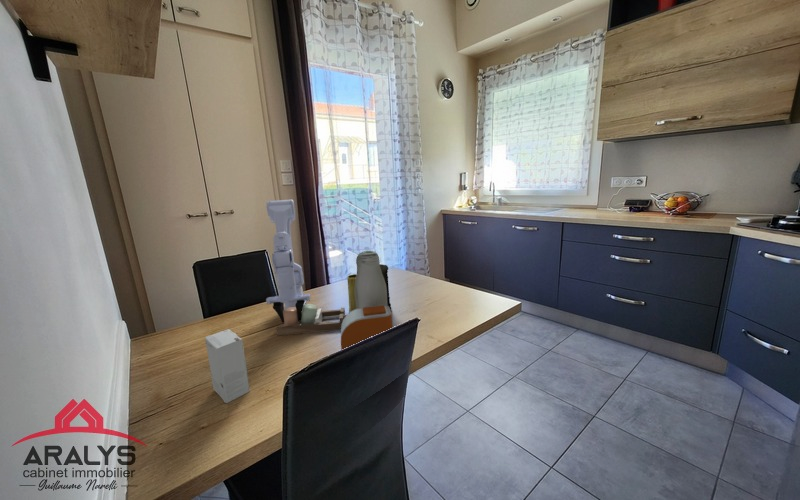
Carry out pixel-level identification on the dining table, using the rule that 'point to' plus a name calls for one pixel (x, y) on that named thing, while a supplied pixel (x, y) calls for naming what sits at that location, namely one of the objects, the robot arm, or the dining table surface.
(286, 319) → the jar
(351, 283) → the vase
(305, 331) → the lane
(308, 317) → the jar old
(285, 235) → the robot arm
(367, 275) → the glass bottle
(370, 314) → the alarm clock
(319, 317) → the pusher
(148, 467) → the dining table surface
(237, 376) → the skincare box
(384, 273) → the container
